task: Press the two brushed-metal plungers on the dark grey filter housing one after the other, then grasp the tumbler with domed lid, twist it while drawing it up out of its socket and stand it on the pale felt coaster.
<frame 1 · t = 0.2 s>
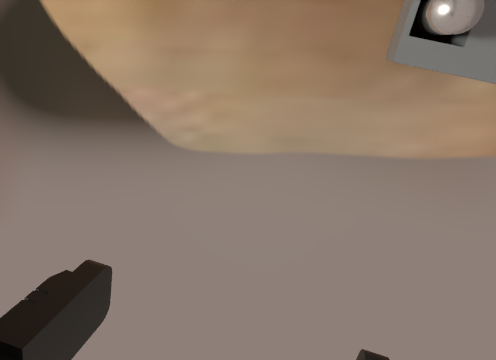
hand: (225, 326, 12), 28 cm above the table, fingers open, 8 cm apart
plunger 2: (447, 12, 27), point 5 cm above the table, slide at 0.0 cm
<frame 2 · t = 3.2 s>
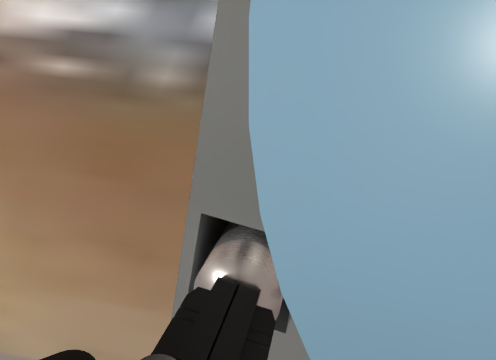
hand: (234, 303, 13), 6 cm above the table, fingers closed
housing: (374, 135, 16), on the table
plunger 2: (253, 254, 15), point 4 cm above the table, slide at 1.7 cm, touching gripper
tumbler with domed lid: (409, 35, 14), resting in housing
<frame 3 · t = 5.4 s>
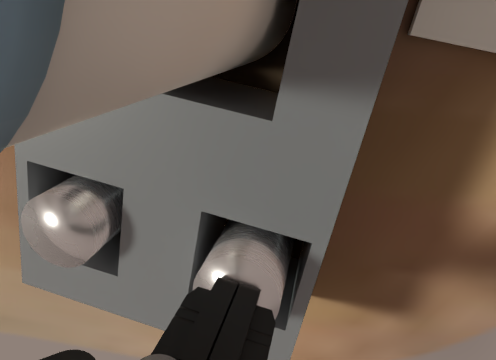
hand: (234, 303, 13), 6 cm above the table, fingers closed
housing: (216, 95, 17), on the table
plunger 1: (252, 253, 15), point 4 cm above the table, slide at 1.6 cm, touching gripper
plunger 2: (99, 202, 16), point 3 cm above the table, slide at 2.0 cm
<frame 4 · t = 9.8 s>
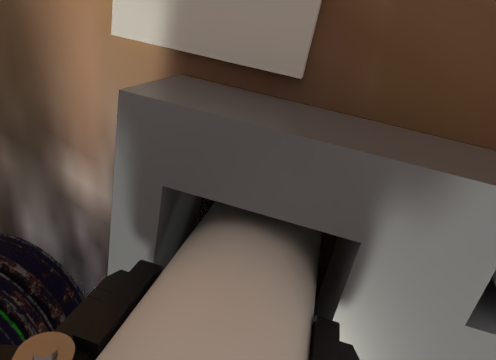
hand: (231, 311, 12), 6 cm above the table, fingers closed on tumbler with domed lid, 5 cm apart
housing: (350, 252, 17), on the table
storage jar: (22, 300, 24), on the table
tumbler with domed lid: (265, 227, 18), resting in housing, touching gripper
when the fingers open (7 cm above the table, at t = 18.2 s): tumbler with domed lid stays where it is, resting on coaster.
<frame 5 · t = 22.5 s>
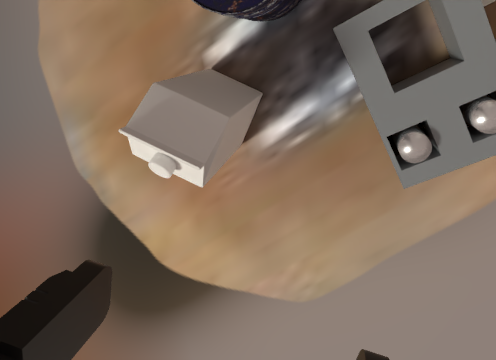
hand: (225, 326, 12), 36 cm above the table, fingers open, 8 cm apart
housing: (421, 79, 41), on the table
plunger 1: (482, 112, 38), point 3 cm above the table, slide at 2.0 cm
plunger 2: (410, 141, 40), point 3 cm above the table, slide at 2.0 cm
milk carton: (226, 107, 47), on the table
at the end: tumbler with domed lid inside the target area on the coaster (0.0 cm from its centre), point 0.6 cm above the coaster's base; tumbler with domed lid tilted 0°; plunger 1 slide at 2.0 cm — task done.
